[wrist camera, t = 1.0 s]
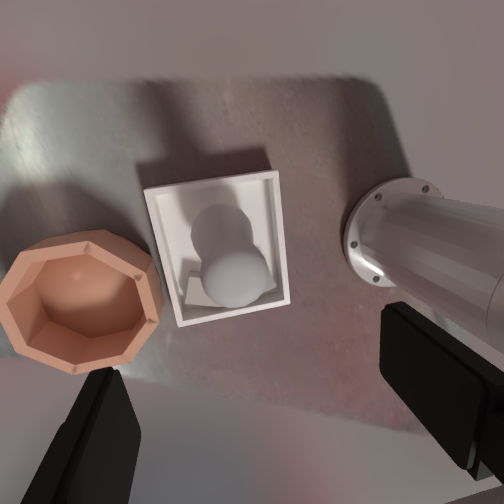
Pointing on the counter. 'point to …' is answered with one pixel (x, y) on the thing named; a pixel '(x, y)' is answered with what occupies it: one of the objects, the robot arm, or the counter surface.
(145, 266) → the bowl
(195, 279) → the beige rectangular block
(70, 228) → the counter surface
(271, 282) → the grey rectangular block
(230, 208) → the salt shaker
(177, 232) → the tray
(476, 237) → the robot arm
